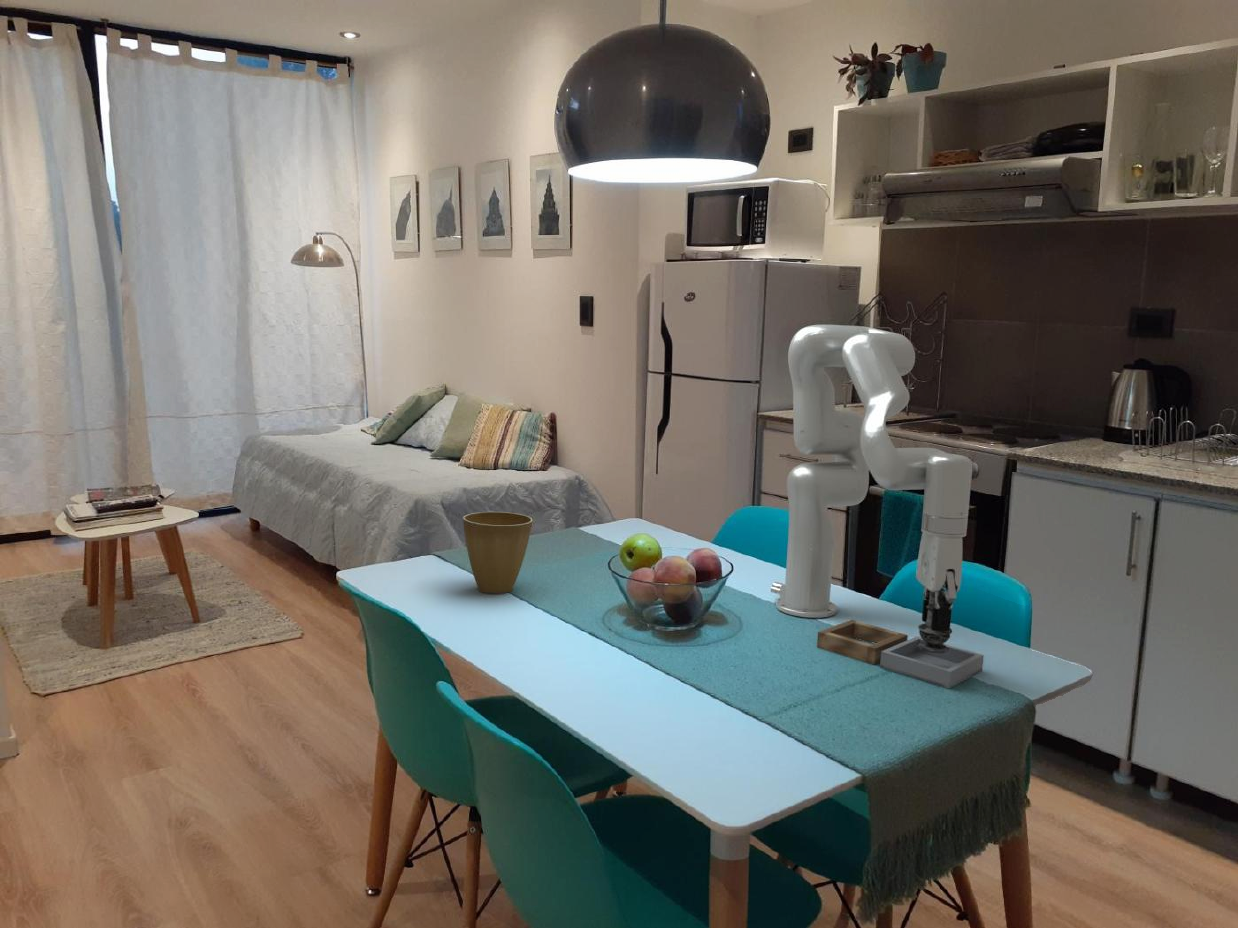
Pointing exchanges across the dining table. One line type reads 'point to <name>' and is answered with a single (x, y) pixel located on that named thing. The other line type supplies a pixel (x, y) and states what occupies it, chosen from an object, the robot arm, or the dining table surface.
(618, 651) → the dining table surface
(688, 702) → the dining table surface
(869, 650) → the wooden tray
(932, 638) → the grey chess piece
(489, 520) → the plant pot
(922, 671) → the grey tray
